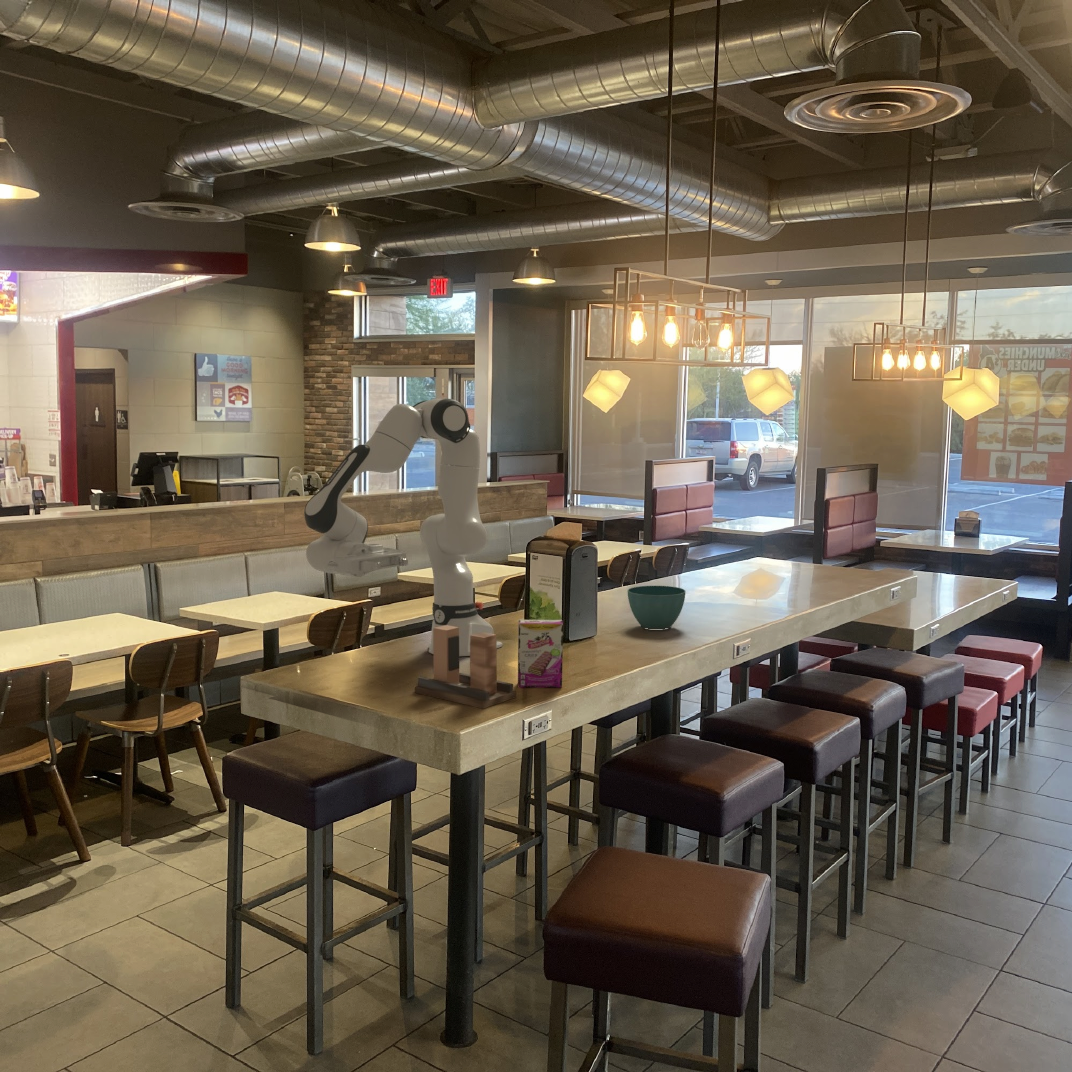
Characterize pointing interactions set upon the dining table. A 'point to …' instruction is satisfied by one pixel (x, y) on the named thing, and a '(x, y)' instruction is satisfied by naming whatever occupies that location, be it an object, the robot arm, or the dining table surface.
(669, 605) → the dark green round bowl
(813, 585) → the dining table surface
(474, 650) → the wooden stand
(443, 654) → the tall tan pillar
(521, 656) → the candy bar box
